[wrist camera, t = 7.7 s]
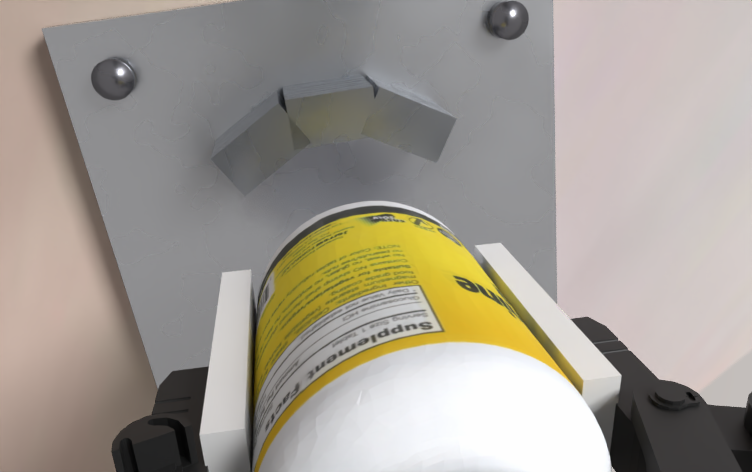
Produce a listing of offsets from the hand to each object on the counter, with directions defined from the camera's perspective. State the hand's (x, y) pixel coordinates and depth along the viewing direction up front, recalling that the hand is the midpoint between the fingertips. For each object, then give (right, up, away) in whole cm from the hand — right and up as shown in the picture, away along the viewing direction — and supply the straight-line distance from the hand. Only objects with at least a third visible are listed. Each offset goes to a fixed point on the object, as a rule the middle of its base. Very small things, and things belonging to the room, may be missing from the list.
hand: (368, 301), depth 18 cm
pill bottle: (0, 0, 0) cm, 1 cm away
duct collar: (-1, +3, +6) cm, 7 cm away
